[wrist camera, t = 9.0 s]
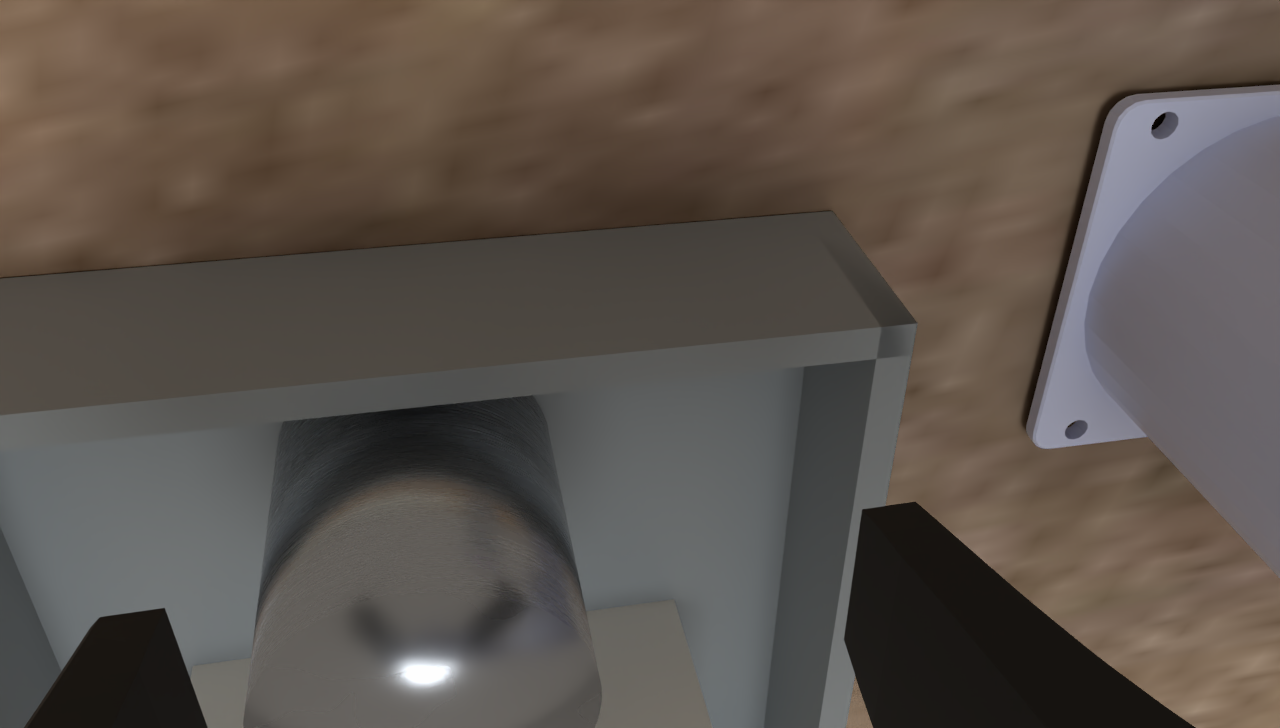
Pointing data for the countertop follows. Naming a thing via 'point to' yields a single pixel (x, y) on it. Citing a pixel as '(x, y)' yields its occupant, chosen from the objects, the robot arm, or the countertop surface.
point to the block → (626, 659)
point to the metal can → (420, 576)
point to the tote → (455, 373)
